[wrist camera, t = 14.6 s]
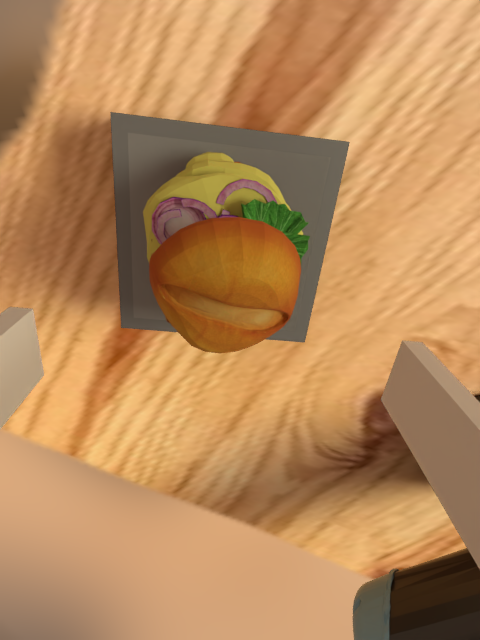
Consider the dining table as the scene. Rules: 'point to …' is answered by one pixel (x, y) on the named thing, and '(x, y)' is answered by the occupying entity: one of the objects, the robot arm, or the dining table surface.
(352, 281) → the dining table surface
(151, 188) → the tray
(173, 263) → the cheeseburger
